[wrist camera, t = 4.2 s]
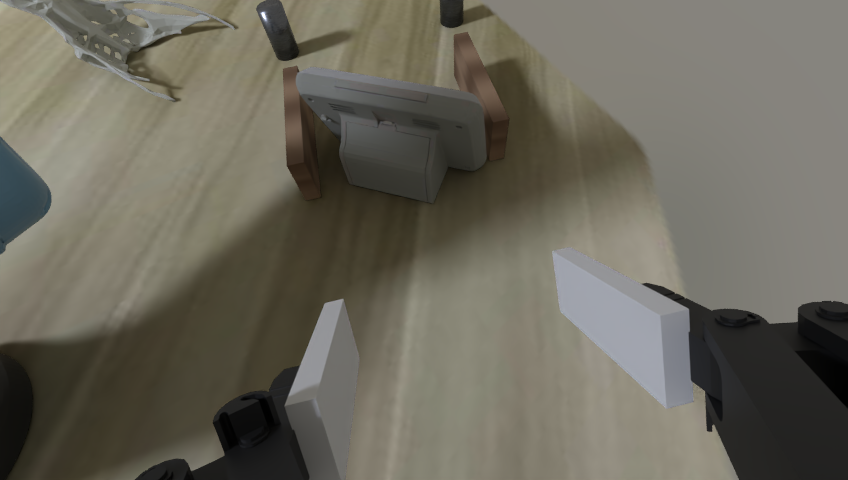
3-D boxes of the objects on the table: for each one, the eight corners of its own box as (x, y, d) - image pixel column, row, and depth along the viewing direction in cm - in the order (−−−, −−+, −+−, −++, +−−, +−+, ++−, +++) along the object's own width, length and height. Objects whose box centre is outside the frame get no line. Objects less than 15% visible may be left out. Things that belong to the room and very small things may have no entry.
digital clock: (495, 163, 39) (506, 68, 30) (451, 231, 36) (449, 146, 27) (363, 114, 44) (338, 20, 35) (313, 169, 41) (271, 80, 32)
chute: (503, 158, 39) (509, 119, 35) (305, 200, 39) (286, 165, 34) (466, 72, 47) (467, 32, 43) (299, 106, 46) (282, 68, 42)
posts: (465, 25, 52) (466, -25, 47) (276, 62, 51) (256, 15, 46) (459, 12, 53) (460, -37, 48) (276, 49, 52) (256, 2, 47)
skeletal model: (180, 105, 48) (-108, -59, 36) (170, 140, 55) (-74, 13, 43) (237, 26, 56) (14, -130, 44) (222, 66, 62) (27, -60, 51)
